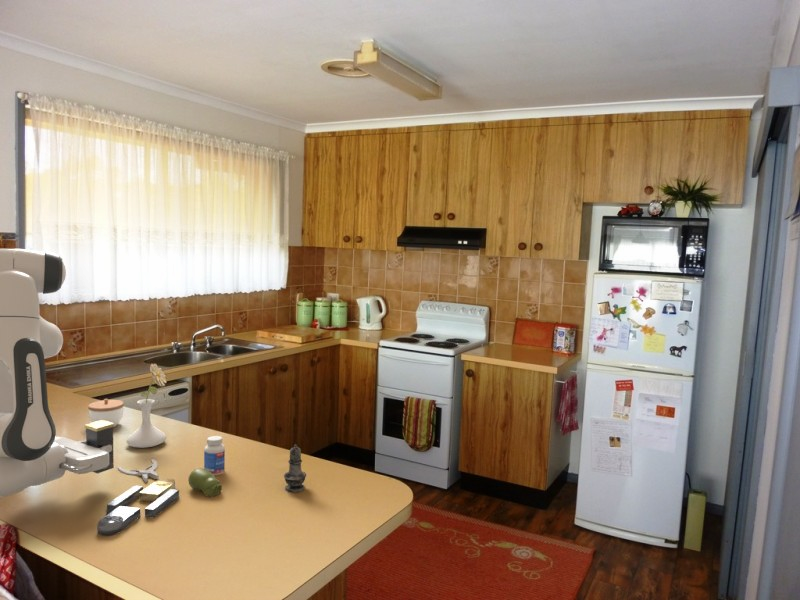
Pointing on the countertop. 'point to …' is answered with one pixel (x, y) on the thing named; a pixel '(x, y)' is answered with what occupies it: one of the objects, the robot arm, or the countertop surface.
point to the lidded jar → (106, 411)
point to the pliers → (144, 473)
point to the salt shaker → (295, 472)
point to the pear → (204, 482)
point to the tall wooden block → (100, 438)
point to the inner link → (157, 489)
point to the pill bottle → (214, 455)
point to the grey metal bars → (131, 510)
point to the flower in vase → (148, 416)
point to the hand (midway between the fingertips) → (103, 444)
